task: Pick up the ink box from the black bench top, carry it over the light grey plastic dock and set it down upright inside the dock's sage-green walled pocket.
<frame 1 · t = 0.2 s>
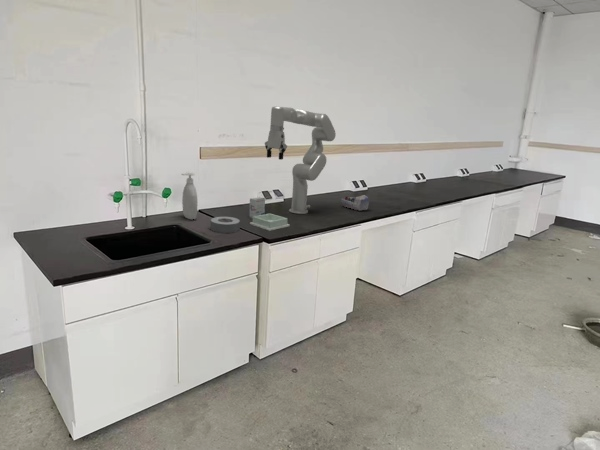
hand: (274, 158, 242), 36 cm above the countertop, tool pointing down, fingers open, 9 cm apart
tape roll: (225, 229, 221), on the countertop
dock: (269, 225, 234), on the countertop
ink box: (256, 217, 250), on the countertop
soap bottle: (188, 218, 236), on the countertop
cell model: (354, 208, 292), on the countertop
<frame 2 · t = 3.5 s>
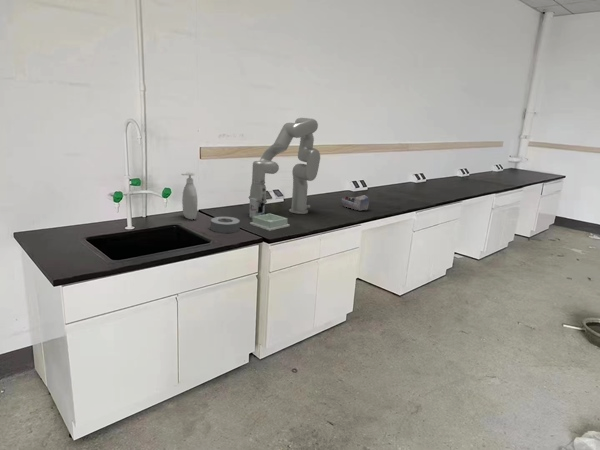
hand: (257, 211, 249), 3 cm above the countertop, tool pointing down, fingers closed on ink box, 5 cm apart
ink box: (256, 217, 250), on the countertop, touching gripper
everything else where it was.
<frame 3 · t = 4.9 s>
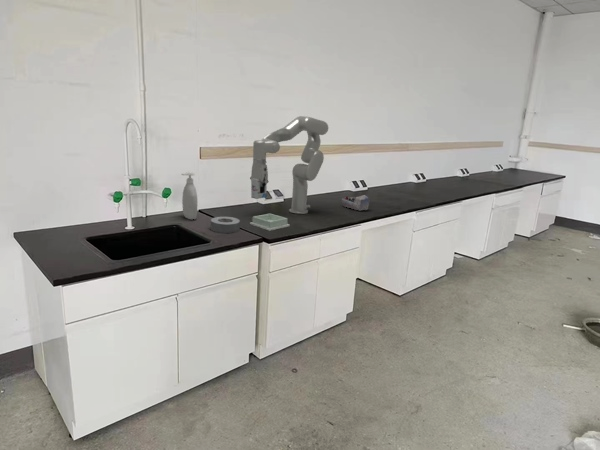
hand: (258, 191, 246), 15 cm above the countertop, tool pointing down, fingers closed on ink box, 5 cm apart
ink box: (258, 197, 247), point 12 cm above the countertop, touching gripper
everything else where it was.
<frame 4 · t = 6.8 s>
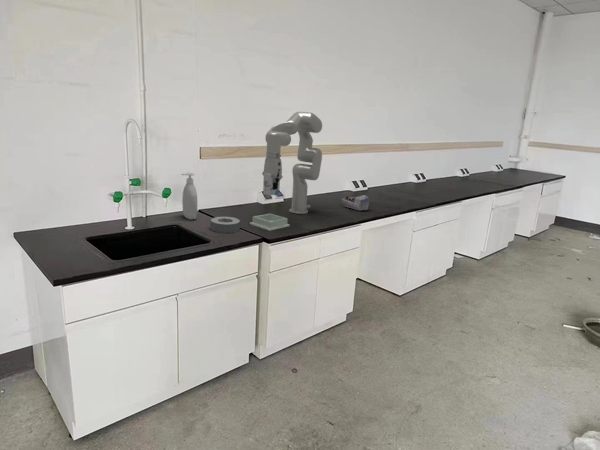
hand: (271, 188, 228), 21 cm above the countertop, tool pointing down, fingers closed on ink box, 5 cm apart
ink box: (271, 194, 229), point 18 cm above the countertop, touching gripper
everything else where it was.
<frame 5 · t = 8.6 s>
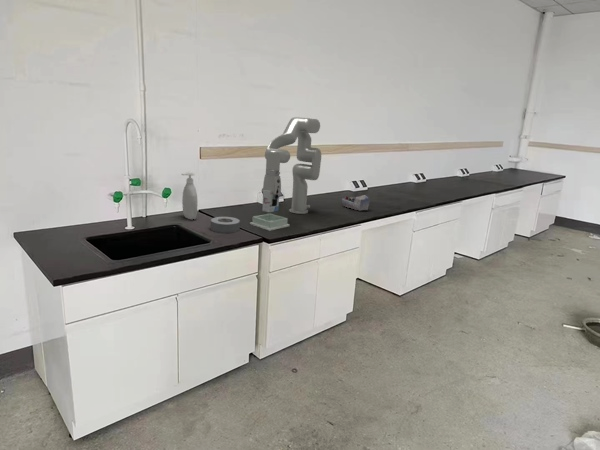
hand: (270, 204, 230), 12 cm above the countertop, tool pointing down, fingers closed on ink box, 5 cm apart
ink box: (270, 210, 231), point 8 cm above the countertop, touching gripper
everything else where it was.
when the fingers open (6 cm above the countertop, at t = 10.2 s): ink box drops 1 cm, resting on dock.
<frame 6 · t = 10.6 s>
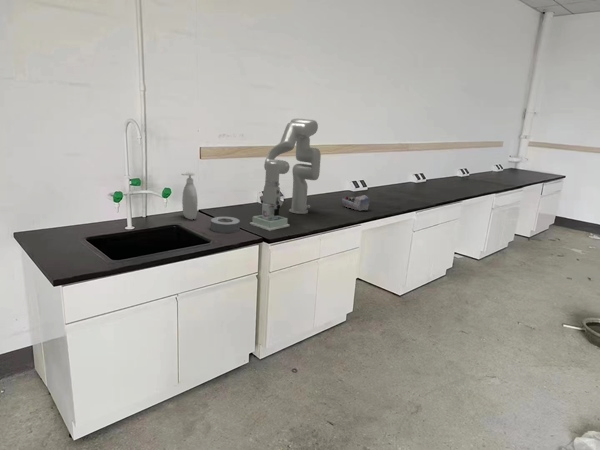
hand: (270, 213, 232), 7 cm above the countertop, tool pointing down, fingers open, 9 cm apart
ink box: (269, 223, 234), point 1 cm above the countertop, touching dock
everything else where it was.
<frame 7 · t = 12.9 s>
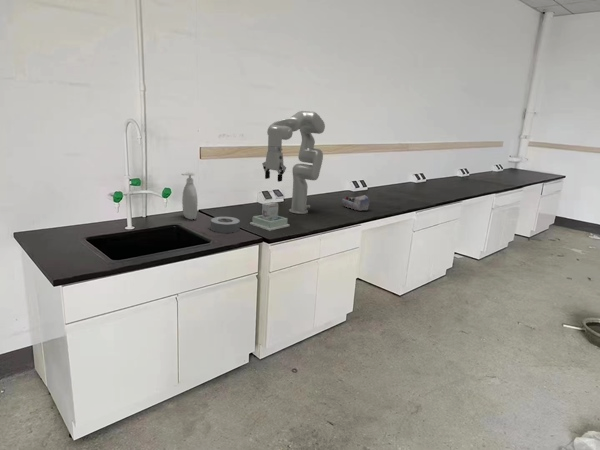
hand: (273, 179, 232), 25 cm above the countertop, tool pointing down, fingers open, 9 cm apart
nothing on the countertop moved.
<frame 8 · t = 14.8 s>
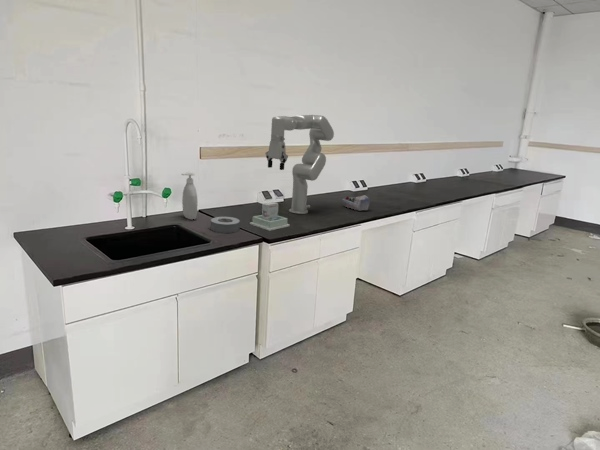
hand: (275, 168, 241), 30 cm above the countertop, tool pointing down, fingers open, 9 cm apart
nothing on the countertop moved.
at the end: ink box 0.3 cm off-centre on the dock, point 0.8 cm above the dock's base; ink box tilted 0°; the gripper is holding nothing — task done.
